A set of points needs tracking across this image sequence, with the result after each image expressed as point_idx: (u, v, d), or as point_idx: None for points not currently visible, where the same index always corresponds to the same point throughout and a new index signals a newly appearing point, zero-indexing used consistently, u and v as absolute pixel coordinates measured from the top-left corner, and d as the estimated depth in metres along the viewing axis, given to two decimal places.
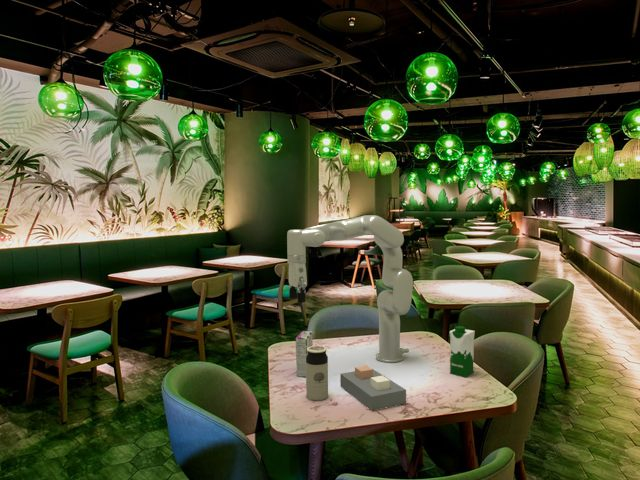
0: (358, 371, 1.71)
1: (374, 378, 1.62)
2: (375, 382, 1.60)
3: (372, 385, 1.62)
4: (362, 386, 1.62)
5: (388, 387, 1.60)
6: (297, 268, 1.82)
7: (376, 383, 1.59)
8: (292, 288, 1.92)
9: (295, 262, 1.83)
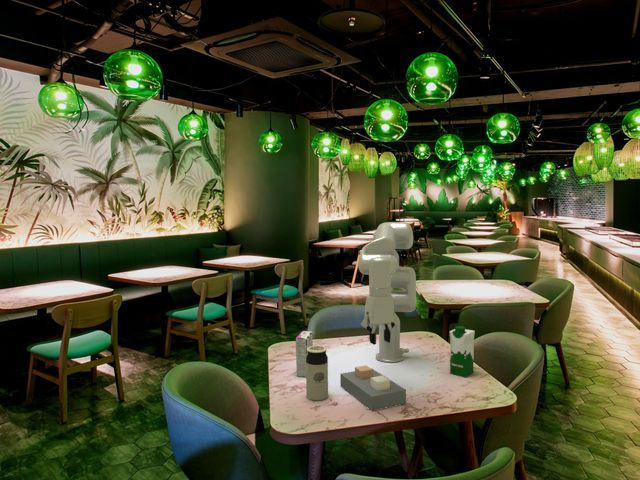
0: (358, 371, 1.71)
1: (374, 378, 1.62)
2: (375, 382, 1.60)
3: (372, 385, 1.62)
4: (362, 386, 1.62)
5: (388, 387, 1.60)
6: None
7: (376, 383, 1.59)
8: None
9: None
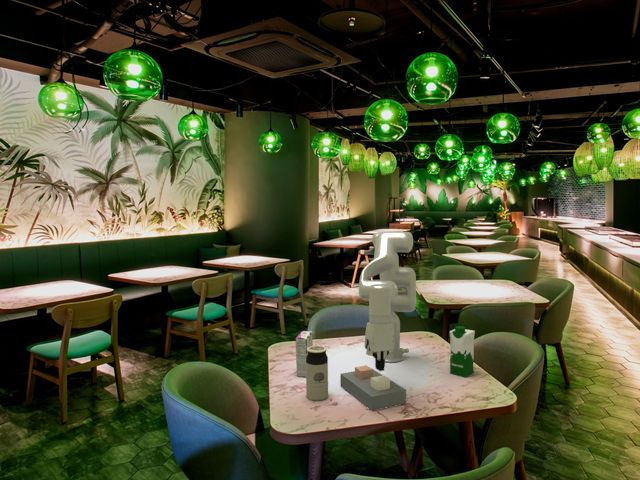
0: (358, 371, 1.71)
1: (374, 378, 1.62)
2: (375, 382, 1.60)
3: (372, 385, 1.62)
4: (362, 386, 1.62)
5: (388, 387, 1.60)
6: None
7: (376, 383, 1.59)
8: (379, 356, 1.60)
9: (390, 321, 1.60)
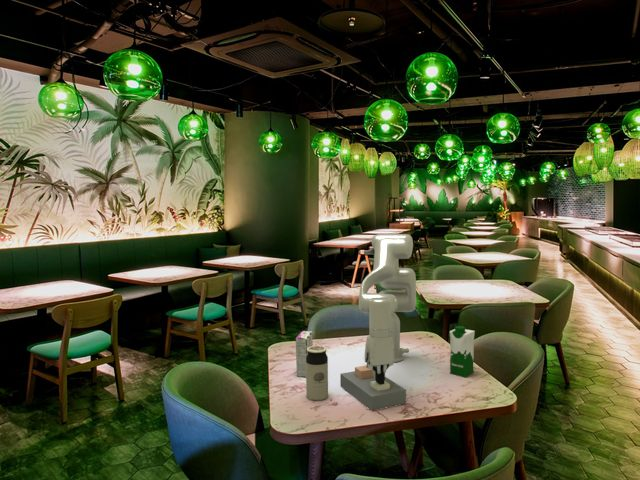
0: (358, 371, 1.71)
1: (374, 382, 1.62)
2: (375, 386, 1.60)
3: None
4: (362, 386, 1.62)
5: None
6: None
7: (376, 387, 1.59)
8: (379, 369, 1.61)
9: (390, 335, 1.60)
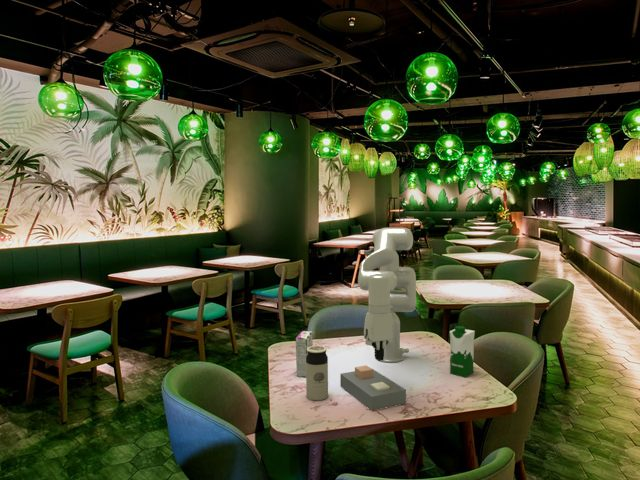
0: (358, 371, 1.71)
1: (374, 384, 1.62)
2: (375, 388, 1.60)
3: None
4: (362, 386, 1.62)
5: None
6: None
7: (376, 389, 1.59)
8: None
9: (389, 311, 1.60)
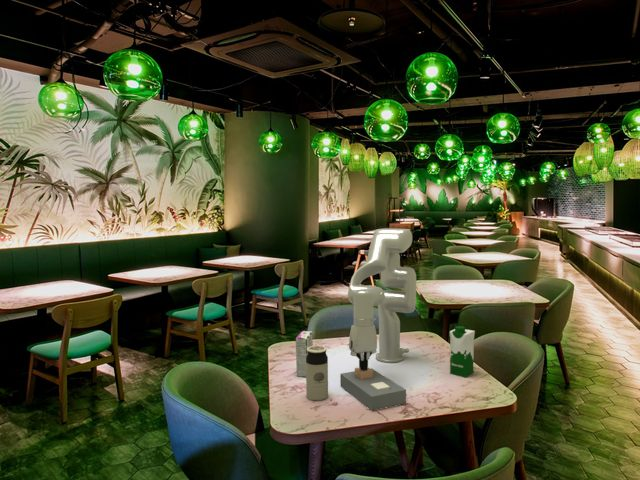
0: (358, 372, 1.71)
1: (374, 384, 1.62)
2: (375, 388, 1.60)
3: None
4: (362, 386, 1.62)
5: None
6: (375, 329, 1.72)
7: (376, 389, 1.59)
8: None
9: (373, 324, 1.71)
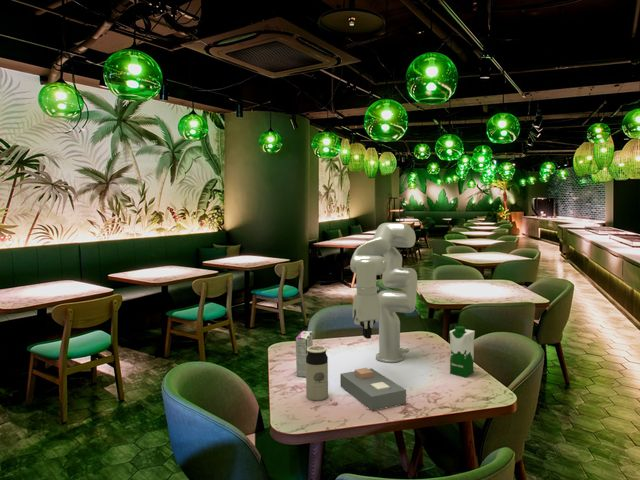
0: (358, 373, 1.71)
1: (374, 384, 1.62)
2: (375, 388, 1.60)
3: None
4: (362, 386, 1.62)
5: None
6: (378, 298, 1.73)
7: (376, 389, 1.59)
8: (366, 325, 1.73)
9: (376, 293, 1.72)
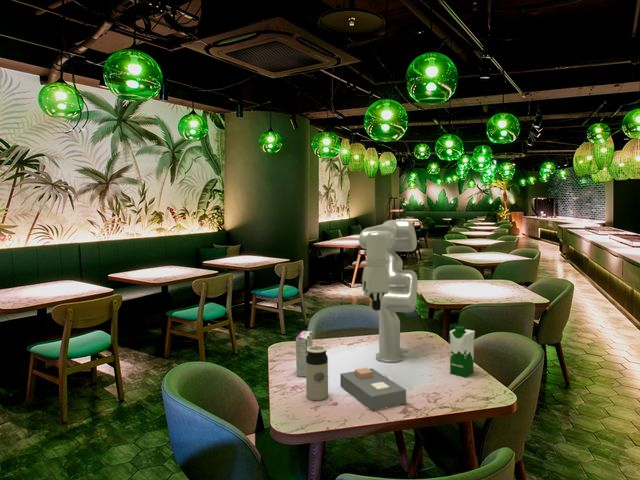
0: (358, 373, 1.71)
1: (374, 384, 1.62)
2: (375, 388, 1.60)
3: None
4: (362, 386, 1.62)
5: None
6: None
7: (376, 389, 1.59)
8: (376, 297, 1.77)
9: (385, 265, 1.76)
